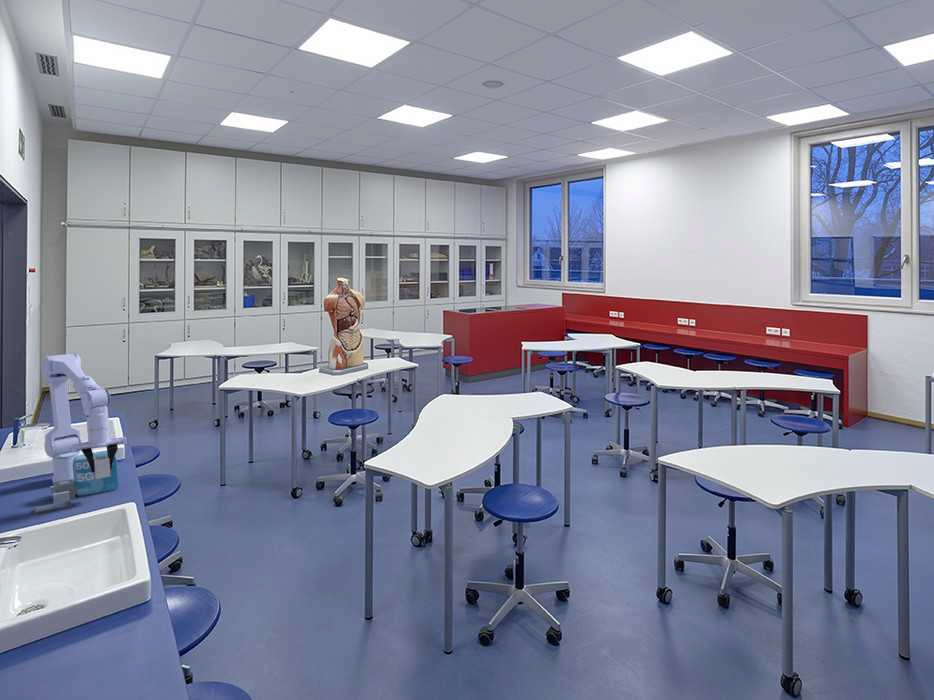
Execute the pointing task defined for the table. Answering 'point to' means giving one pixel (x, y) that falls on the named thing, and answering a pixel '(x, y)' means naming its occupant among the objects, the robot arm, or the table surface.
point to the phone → (52, 507)
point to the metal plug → (101, 466)
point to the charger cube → (65, 487)
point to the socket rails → (59, 496)
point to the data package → (92, 477)
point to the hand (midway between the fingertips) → (101, 470)
